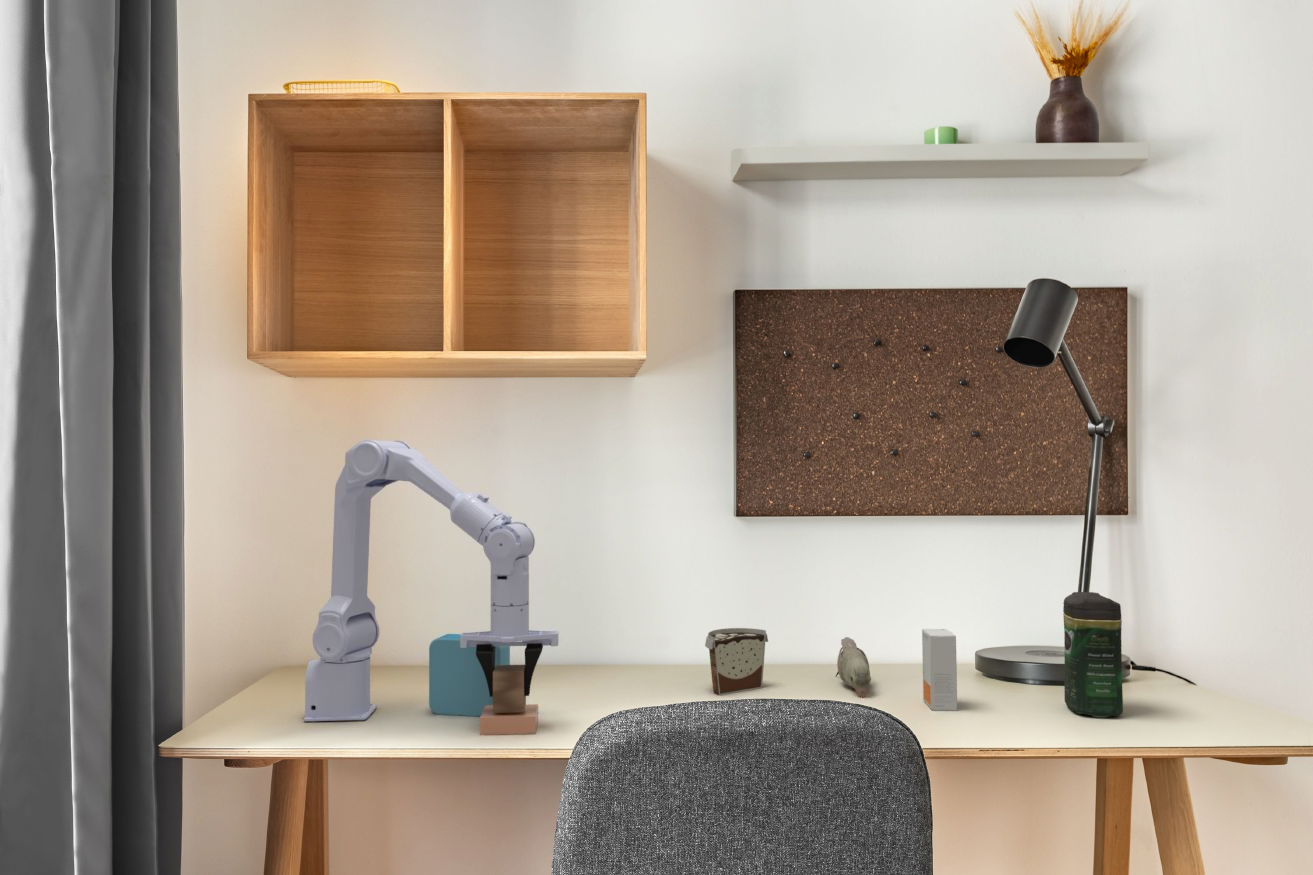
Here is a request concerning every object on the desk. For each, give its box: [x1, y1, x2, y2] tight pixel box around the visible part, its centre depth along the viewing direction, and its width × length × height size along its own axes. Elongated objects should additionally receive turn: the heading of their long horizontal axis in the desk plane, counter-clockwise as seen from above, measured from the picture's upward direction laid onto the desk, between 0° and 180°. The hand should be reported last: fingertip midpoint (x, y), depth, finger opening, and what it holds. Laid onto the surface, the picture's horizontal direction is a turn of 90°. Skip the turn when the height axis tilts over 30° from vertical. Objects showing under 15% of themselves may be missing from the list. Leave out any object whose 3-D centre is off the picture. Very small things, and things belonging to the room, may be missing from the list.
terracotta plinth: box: [479, 703, 539, 736], centre depth 139 cm, size 8×7×2 cm
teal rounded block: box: [428, 633, 511, 718], centre depth 148 cm, size 12×4×12 cm, turn 79°
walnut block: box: [493, 664, 527, 713], centre depth 139 cm, size 4×4×6 cm
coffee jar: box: [1062, 591, 1124, 718], centre depth 147 cm, size 10×8×19 cm
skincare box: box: [921, 628, 958, 712], centre depth 151 cm, size 6×4×12 cm
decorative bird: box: [834, 636, 872, 698], centre depth 164 cm, size 5×16×8 cm, turn 178°
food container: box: [704, 627, 769, 696], centre depth 163 cm, size 12×6×10 cm, turn 122°
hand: (509, 694), depth 139 cm, fingers closed on walnut block, 4 cm apart
